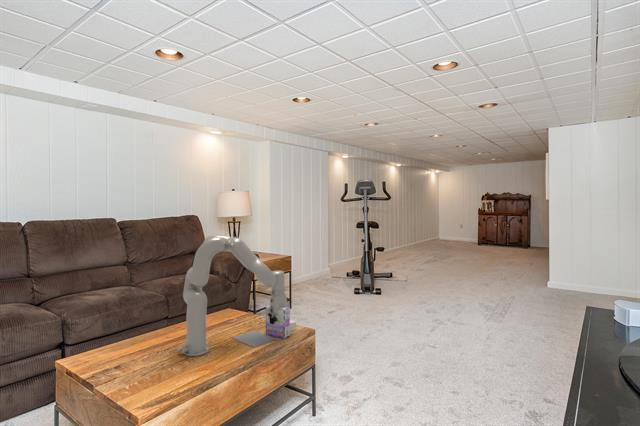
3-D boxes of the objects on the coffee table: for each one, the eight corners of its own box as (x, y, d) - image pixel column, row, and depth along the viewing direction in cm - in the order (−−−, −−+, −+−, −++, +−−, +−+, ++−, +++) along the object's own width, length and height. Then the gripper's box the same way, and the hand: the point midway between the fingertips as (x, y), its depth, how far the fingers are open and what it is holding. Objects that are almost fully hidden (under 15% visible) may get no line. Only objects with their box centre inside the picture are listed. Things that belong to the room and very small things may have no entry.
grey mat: (253, 347, 188) (253, 346, 188) (231, 338, 201) (231, 337, 201) (276, 339, 199) (276, 338, 199) (255, 331, 213) (255, 330, 213)
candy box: (290, 335, 205) (290, 307, 205) (284, 339, 200) (284, 309, 200) (271, 331, 213) (271, 303, 212) (265, 334, 208) (265, 306, 207)
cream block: (289, 331, 212) (289, 323, 212) (284, 329, 215) (284, 321, 215) (296, 329, 216) (296, 321, 216) (290, 328, 219) (290, 319, 219)
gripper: (270, 296, 197) (270, 327, 198) (293, 290, 210) (293, 319, 210) (262, 294, 202) (262, 324, 203) (285, 288, 215) (285, 316, 215)
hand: (278, 321), depth 207 cm, fingers open, 9 cm apart
